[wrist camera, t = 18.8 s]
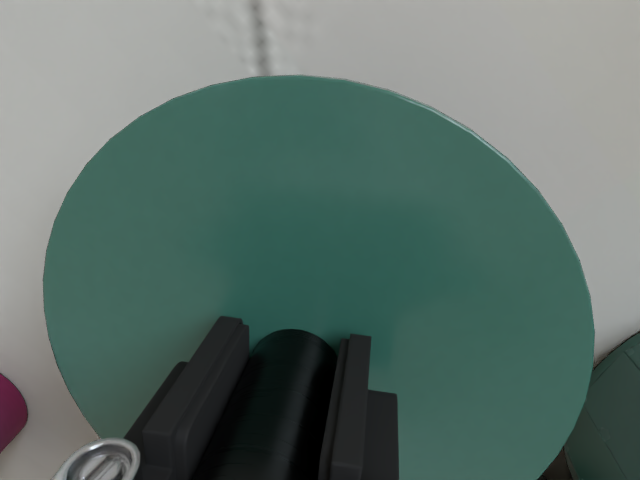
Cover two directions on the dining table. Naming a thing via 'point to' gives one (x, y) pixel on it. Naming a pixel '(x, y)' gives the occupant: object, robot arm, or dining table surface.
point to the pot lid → (323, 278)
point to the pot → (609, 420)
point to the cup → (10, 412)
